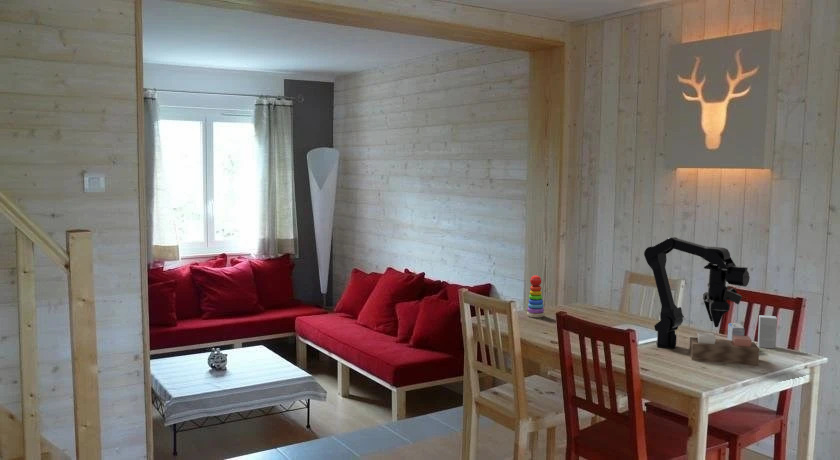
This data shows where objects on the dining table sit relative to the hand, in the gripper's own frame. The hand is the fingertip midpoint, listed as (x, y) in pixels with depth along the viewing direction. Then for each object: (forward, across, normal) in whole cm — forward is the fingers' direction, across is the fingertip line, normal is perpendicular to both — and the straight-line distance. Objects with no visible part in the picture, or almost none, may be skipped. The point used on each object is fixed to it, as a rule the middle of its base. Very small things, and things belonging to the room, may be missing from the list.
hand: (714, 324), depth 259 cm
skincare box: (+12, +21, -23) cm, 33 cm away
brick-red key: (+7, -3, -9) cm, 12 cm away
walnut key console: (+12, -3, -3) cm, 13 cm away
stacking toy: (+14, +48, +68) cm, 84 cm away
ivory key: (+8, -2, +3) cm, 9 cm away
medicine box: (+12, +16, -11) cm, 23 cm away
